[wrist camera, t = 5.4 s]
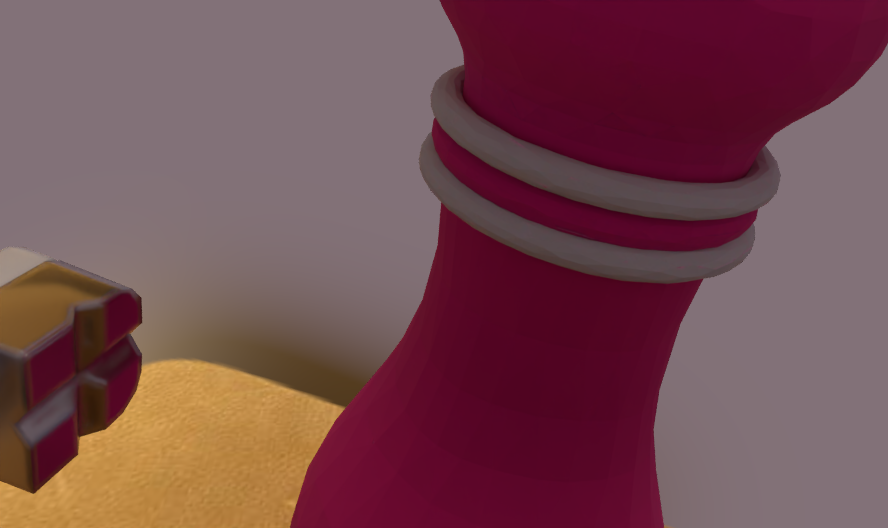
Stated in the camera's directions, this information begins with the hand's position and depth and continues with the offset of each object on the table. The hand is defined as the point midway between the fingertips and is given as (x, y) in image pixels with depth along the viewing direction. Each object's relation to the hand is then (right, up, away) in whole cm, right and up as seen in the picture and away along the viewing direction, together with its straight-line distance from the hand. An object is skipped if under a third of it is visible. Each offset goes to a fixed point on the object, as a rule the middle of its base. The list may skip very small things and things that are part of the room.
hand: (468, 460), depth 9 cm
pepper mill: (-1, -7, +10) cm, 12 cm away
